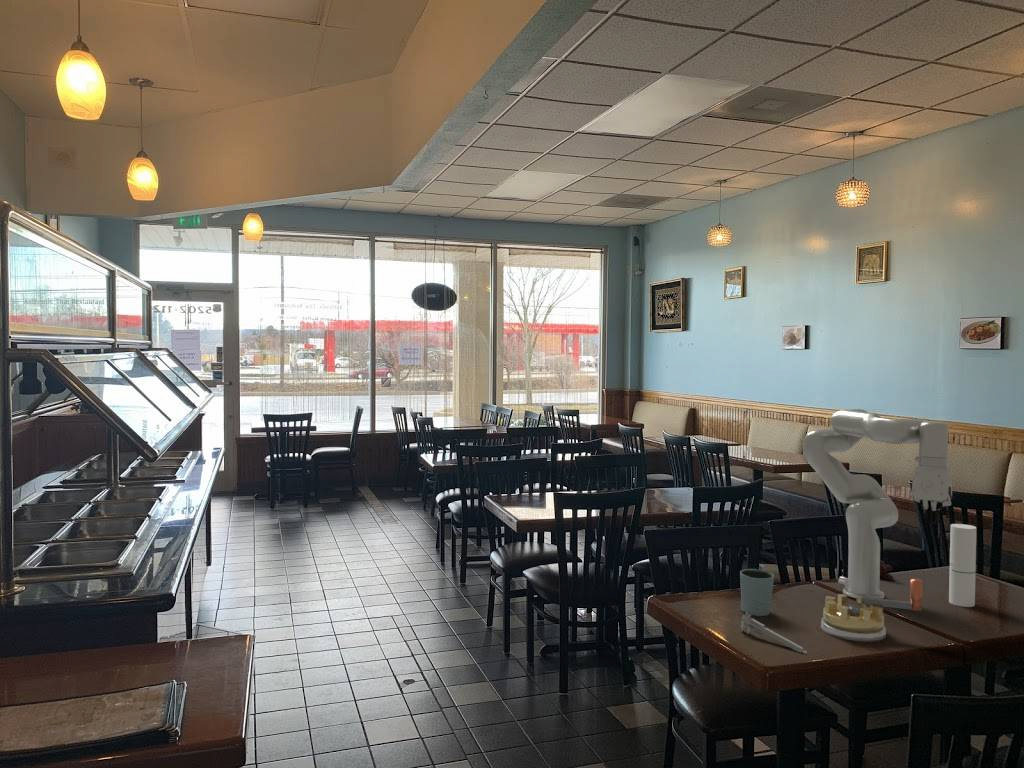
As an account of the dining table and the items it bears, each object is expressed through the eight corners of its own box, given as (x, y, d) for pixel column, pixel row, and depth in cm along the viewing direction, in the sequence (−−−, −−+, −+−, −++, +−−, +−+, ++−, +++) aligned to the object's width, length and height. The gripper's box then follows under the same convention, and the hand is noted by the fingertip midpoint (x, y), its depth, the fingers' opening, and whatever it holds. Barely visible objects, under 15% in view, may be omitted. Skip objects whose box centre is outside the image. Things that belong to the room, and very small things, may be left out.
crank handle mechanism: (861, 608, 229) (862, 562, 228) (923, 631, 210) (924, 580, 209) (810, 618, 220) (811, 570, 220) (871, 642, 201) (872, 589, 201)
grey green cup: (745, 604, 240) (746, 567, 239) (777, 610, 234) (778, 572, 233) (734, 612, 231) (735, 574, 231) (768, 619, 225) (768, 580, 225)
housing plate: (808, 627, 219) (808, 620, 219) (843, 617, 228) (843, 610, 228) (863, 646, 204) (863, 638, 204) (898, 634, 214) (898, 627, 214)
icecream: (850, 554, 278) (883, 568, 264) (865, 548, 280) (899, 561, 266) (852, 571, 279) (885, 586, 265) (867, 565, 281) (900, 579, 268)
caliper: (740, 632, 215) (740, 611, 215) (743, 632, 216) (743, 610, 215) (805, 655, 199) (805, 632, 198) (807, 654, 199) (808, 631, 199)
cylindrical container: (967, 600, 245) (969, 524, 244) (979, 607, 238) (980, 529, 237) (944, 599, 245) (946, 523, 245) (955, 606, 238) (957, 528, 238)
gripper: (901, 460, 230) (900, 519, 231) (952, 466, 218) (950, 529, 218) (915, 459, 234) (913, 517, 235) (965, 464, 222) (963, 526, 222)
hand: (931, 522), depth 227 cm, fingers closed
